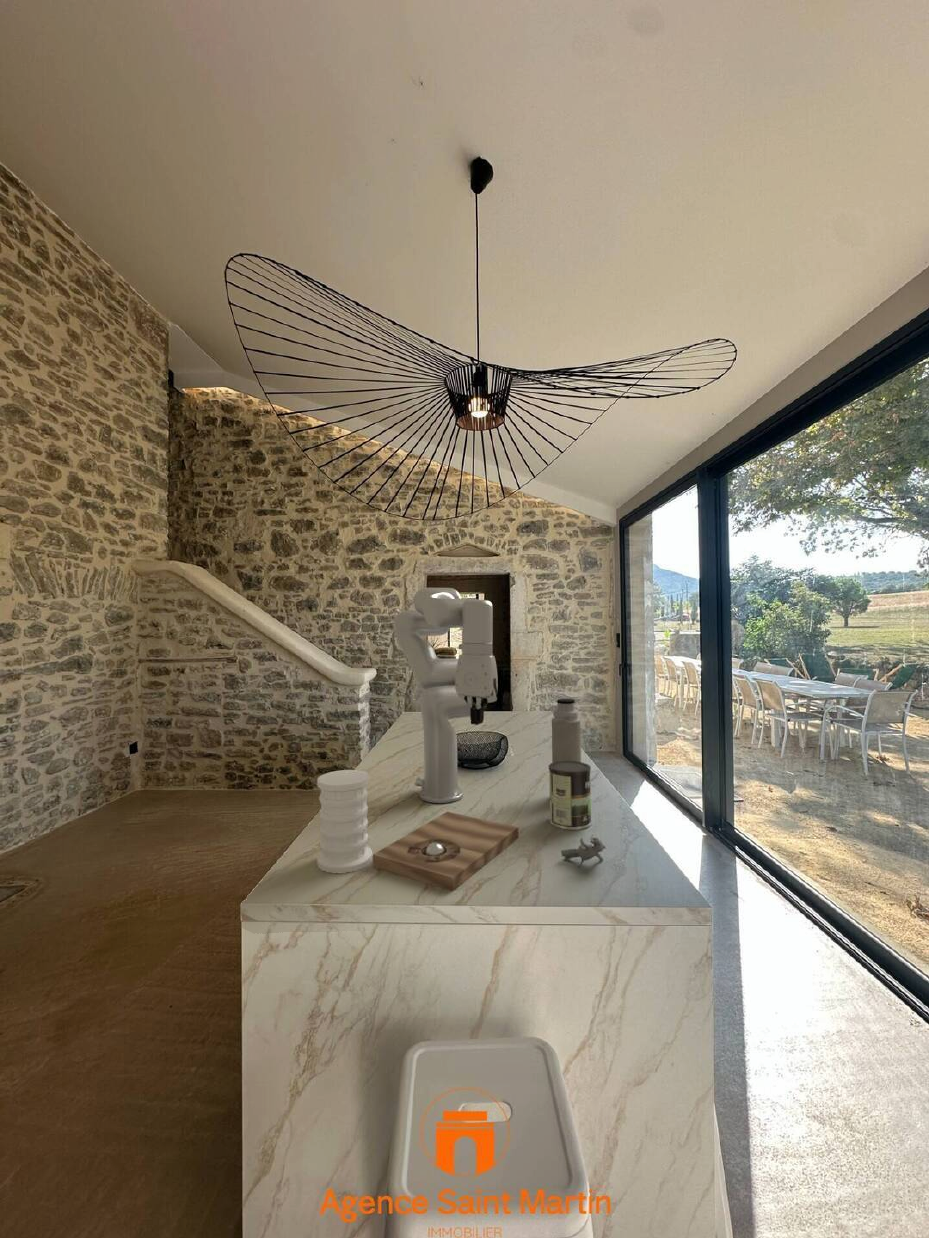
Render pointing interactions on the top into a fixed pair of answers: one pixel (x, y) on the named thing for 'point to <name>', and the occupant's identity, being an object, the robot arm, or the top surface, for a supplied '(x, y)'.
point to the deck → (446, 849)
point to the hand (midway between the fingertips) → (476, 723)
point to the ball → (434, 849)
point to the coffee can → (570, 795)
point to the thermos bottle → (566, 732)
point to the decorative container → (344, 821)
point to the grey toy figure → (585, 850)
